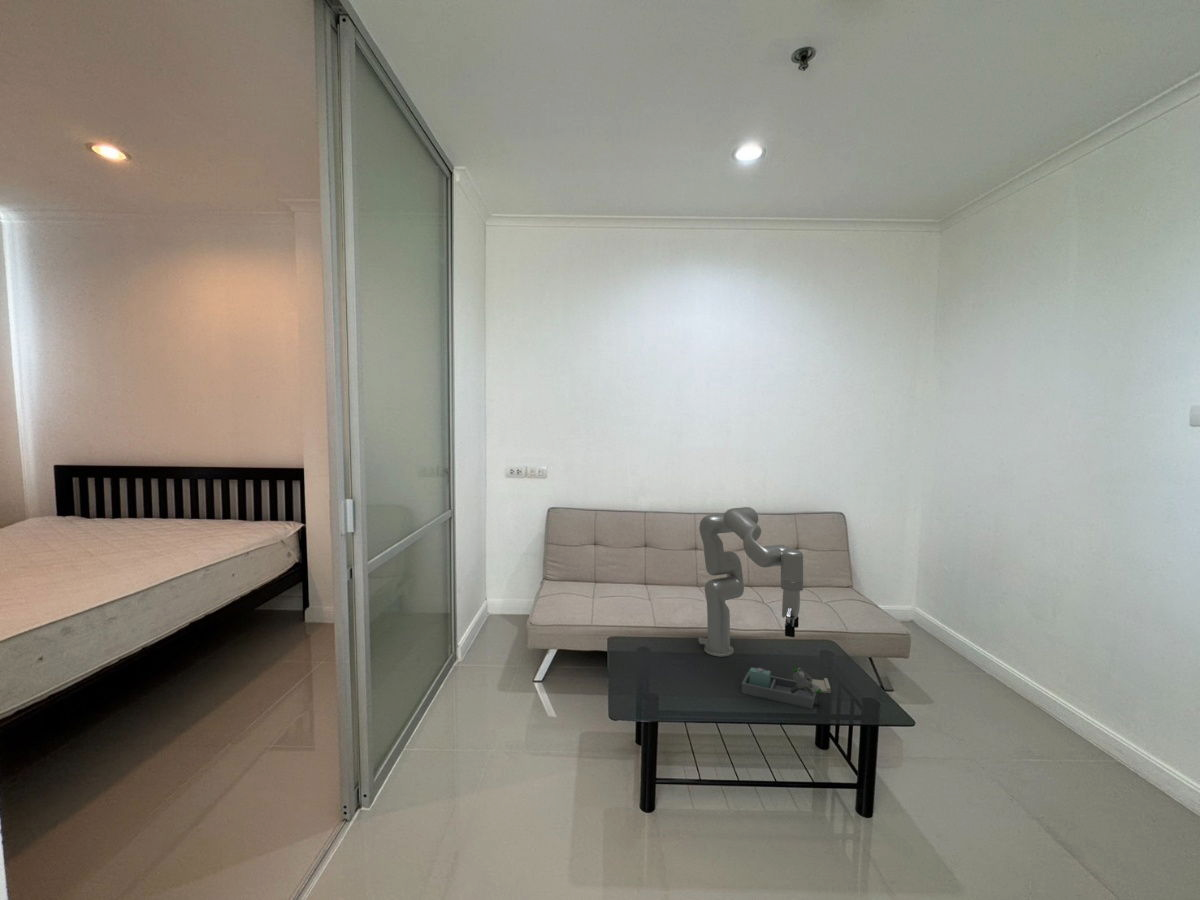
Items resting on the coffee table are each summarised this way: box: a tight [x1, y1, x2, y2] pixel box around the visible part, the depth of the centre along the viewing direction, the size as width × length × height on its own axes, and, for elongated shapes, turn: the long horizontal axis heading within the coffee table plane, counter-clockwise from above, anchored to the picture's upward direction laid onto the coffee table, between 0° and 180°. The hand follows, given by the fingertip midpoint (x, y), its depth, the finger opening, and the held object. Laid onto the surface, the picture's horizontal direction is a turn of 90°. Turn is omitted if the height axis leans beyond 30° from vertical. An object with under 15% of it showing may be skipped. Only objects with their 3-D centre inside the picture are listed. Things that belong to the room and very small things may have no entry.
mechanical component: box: [790, 666, 821, 695], centre depth 178 cm, size 3×10×10 cm
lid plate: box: [812, 677, 832, 694], centre depth 188 cm, size 10×8×2 cm
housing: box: [741, 667, 817, 710], centre depth 183 cm, size 24×11×8 cm, turn 62°
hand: (791, 631), depth 181 cm, fingers open, 9 cm apart
